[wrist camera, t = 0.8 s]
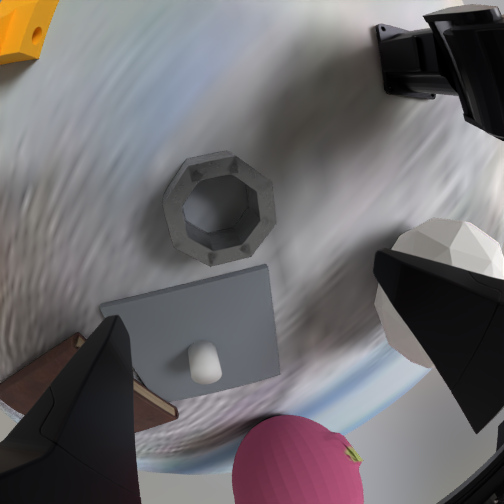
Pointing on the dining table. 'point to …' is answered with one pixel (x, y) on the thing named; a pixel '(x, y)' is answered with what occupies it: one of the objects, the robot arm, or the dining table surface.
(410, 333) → the geodesic sphere
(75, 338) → the notebook
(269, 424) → the pink dragon fruit
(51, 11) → the pipe clamp
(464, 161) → the dining table surface
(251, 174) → the ring
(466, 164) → the dining table surface
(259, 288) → the gray square plate
